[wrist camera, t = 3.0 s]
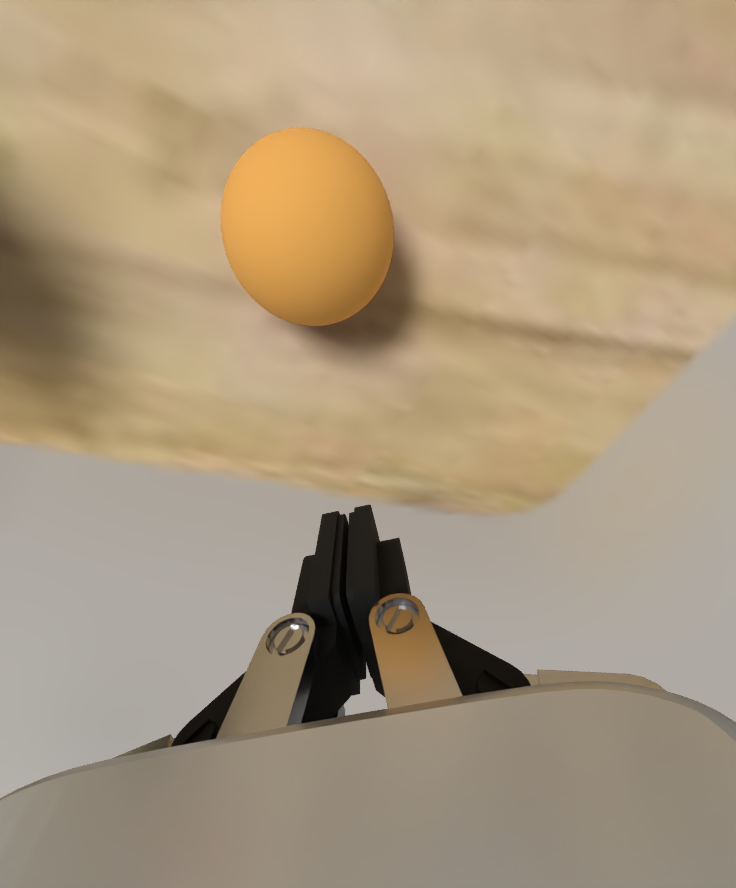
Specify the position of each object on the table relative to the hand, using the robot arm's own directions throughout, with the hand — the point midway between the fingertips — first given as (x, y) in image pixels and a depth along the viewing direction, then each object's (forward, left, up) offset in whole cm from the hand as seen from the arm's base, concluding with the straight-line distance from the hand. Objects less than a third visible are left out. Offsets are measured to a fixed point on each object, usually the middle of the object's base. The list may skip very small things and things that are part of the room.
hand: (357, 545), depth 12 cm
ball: (-1, -10, -4) cm, 10 cm away
